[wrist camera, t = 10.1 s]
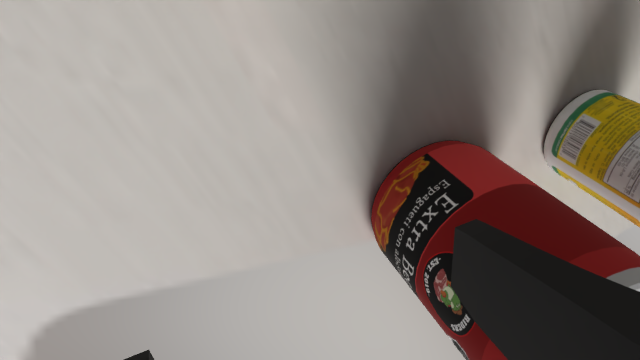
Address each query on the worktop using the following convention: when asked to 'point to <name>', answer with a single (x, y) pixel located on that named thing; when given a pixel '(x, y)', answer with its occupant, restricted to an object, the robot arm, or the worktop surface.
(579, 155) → the supplement bottle
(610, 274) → the canned food
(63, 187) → the worktop surface
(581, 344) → the robot arm
